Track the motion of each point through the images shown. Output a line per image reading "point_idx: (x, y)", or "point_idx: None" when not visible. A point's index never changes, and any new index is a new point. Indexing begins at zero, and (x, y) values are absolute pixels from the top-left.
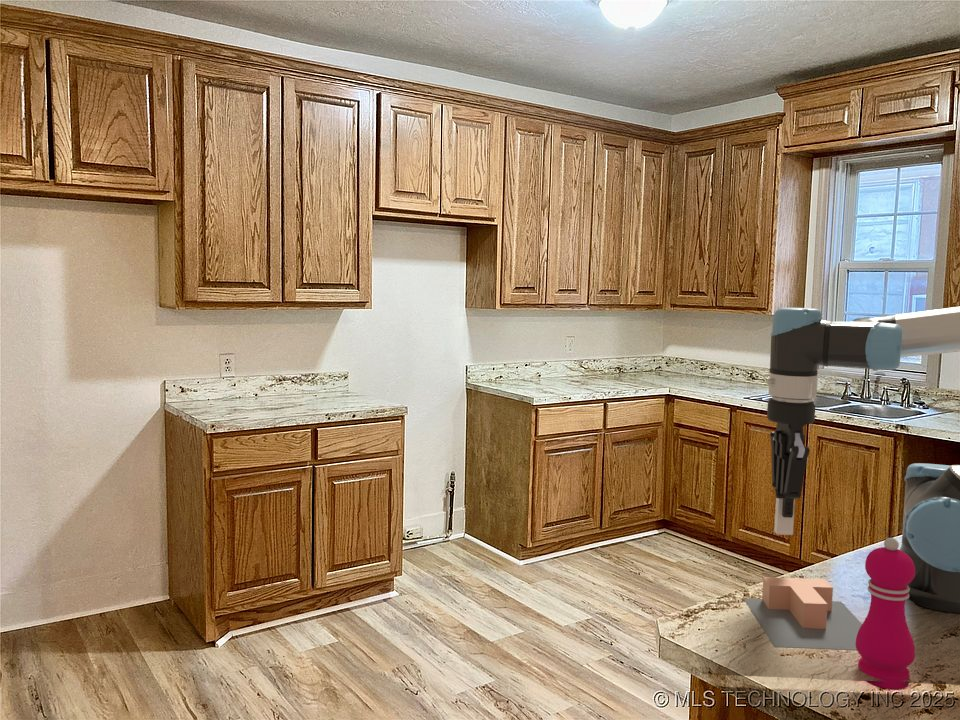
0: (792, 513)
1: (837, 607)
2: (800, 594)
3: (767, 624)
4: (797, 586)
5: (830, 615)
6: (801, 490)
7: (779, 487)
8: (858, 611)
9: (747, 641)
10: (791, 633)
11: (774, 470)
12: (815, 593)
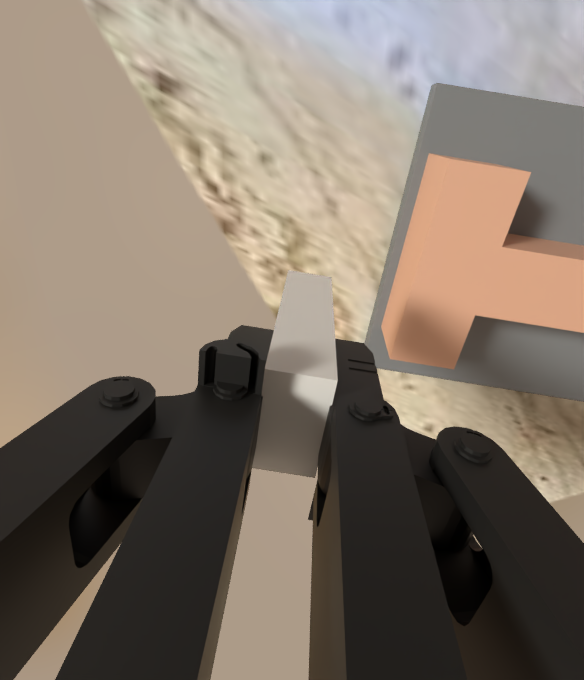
0: (374, 361)
1: (477, 126)
2: (543, 316)
3: (514, 375)
4: (483, 293)
5: None
6: (549, 505)
7: (244, 503)
8: (466, 25)
9: (532, 418)
10: (577, 345)
11: (54, 624)
12: (554, 265)
